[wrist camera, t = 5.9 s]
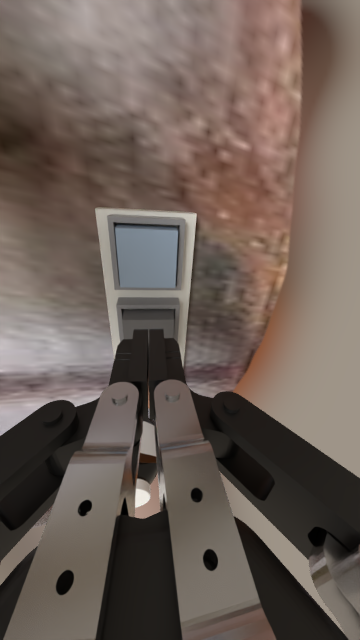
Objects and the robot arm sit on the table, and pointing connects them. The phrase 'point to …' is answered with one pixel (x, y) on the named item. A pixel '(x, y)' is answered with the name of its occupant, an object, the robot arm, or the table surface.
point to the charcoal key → (148, 321)
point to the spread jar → (146, 464)
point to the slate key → (146, 255)
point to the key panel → (146, 297)
